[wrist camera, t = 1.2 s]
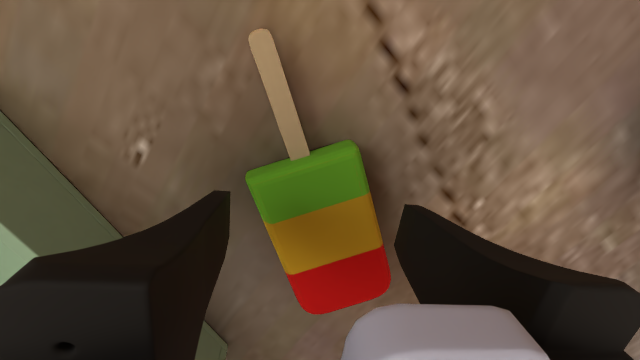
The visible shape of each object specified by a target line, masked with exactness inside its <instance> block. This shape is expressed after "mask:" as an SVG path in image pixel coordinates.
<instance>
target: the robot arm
mask: <svg viewBox="0 0 640 360" xmlns="http://www.w3.org/2000/svg"><path fill="white" fill-rule="evenodd" d="M229 226H230V192H229V191H215V190H214V191H212V192H211V193H209V194H208V195H206V196H205V197H204V198H202V199H201V200H199V201H198V202H196V203H195V204H193V205H191V206H190V207H188V208H187V209H185V210H183V211H182V212H180V213H178V214H176V215H175V216H173V217H171V218H169V219H168V220H166V221H164V222H162V223H159V224H157V225H155V226H153V227H150V228H148V229H146V230H143V231H141V232H138V233H135V234H132V235H129V236H126V237H123V238H121V239H118V240H114V241H111V242H107V243H104V244H100V245H96V246H92V247H88V248H83V249H79V250H74V251H68V252H63V253H57V254H52V255H46V256H40V257H34V258H33V259H32V260H30V261H29V262H28V263H27V264H26V265H24V266H23V267H22V268H21V269H20V270H19V271H17V272H16V273H15V274H14V275H13V276H12V277H10V278H9V279H8V280H7V281H6V282H5V283H3V284H2V285H1V286H0V360H195V356H196V351H197V347H198V342H199V338H200V334H201V330H202V325H203V321H204V317H205V313H206V310H207V307H208V304H209V301H210V298H211V295H212V292H213V290H214V287H215V284H216V281H217V278H218V276H219V273H220V270H221V267H222V264H223V261H224V258H225V254H226V250H227V245H228V240H229ZM394 247H395V250H396V253H397V256H398V259H399V262H400V265H401V267H402V269H403V271H404V273H405V275H406V277H407V279H408V281H409V283H410V285H411V287H412V289H413V291H414V293H415V295H416V296H417V298H418V300H419V302H420V304H393V305H387V306H382V307H376V308H374V309H373V310H371V311H370V312H368V313H367V314H365V315H363V316H362V317H360V318H359V319H357V320H356V322H355V323H354V325H353V327H352V328H351V330H350V332H349V333H348V335H347V337H346V340H345V345H344V349H343V354H342V357H341V359H340V360H633V359H632V358H631V357H630V356H629V355H628V354H627V353H626V352H624V351H623V350H624V349H625V347H626V346H627V344H628V343H629V342H630V340H631V339H632V337H633V336H634V335H635V333H636V332H637V330H638V329H639V328H640V293H639V292H637V291H636V290H634V289H633V288H631V287H630V286H629V285H627V284H626V283H624V282H622V281H619V280H616V279H611V278H607V277H602V276H598V275H593V274H588V273H584V272H579V271H575V270H571V269H568V268H564V267H560V266H556V265H553V264H550V263H546V262H543V261H540V260H537V259H534V258H531V257H528V256H525V255H522V254H519V253H517V252H514V251H511V250H509V249H506V248H504V247H502V246H499V245H497V244H494V243H492V242H490V241H488V240H485V239H483V238H481V237H479V236H477V235H475V234H473V233H471V232H469V231H467V230H465V229H464V228H462V227H460V226H458V225H456V224H454V223H452V222H451V221H449V220H447V219H445V218H443V217H442V216H440V215H438V214H436V213H434V212H432V211H430V210H428V209H426V208H424V207H422V206H419V205H407V204H405V205H404V209H403V213H402V217H401V220H400V224H399V228H398V232H397V235H396V239H395V243H394Z"/></svg>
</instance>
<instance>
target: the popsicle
mask: <svg viewBox="0 0 640 360" xmlns="http://www.w3.org/2000/svg"><path fill="white" fill-rule="evenodd" d="M248 41H249V45H250V48H251V50H252V53H253V56H254V59H255V62H256V64H257V67H258V70H259V73H260V76H261V78H262V81H263V84H264V87H265V90H266V93H267V95H268V98H269V101H270V104H271V107H272V109H273V112H274V115H275V118H276V121H277V123H278V126H279V129H280V132H281V135H282V138H283V140H284V143H285V146H286V149H287V152H288V154H289V157H290V158H288V159H284V160H281V161H278V162H275V163H272V164H269V165H265V166H262V167H259V168H256V169H253V170H250V171H247V173H246V176H245V180H246V183H247V185H248V187H249V190H250V192H251V194H252V196H253V199H254V201H255V203H256V206H257V208H258V210H259V213H260V215H261V217H262V220H263V222H264V224H265V226H266V229H267V231H268V233H269V236H270V238H271V240H272V243H273V245H274V247H275V250H276V252H277V254H278V256H279V259H280V261H281V263H282V266H283V268H284V270H285V273H286V275H287V277H288V280H289V282H290V284H291V286H292V289H293V291H294V293H295V296H296V298H297V300H298V302H299V303H300V305H301V307H302V308H303V309H304V310H305V311H307V312H308V313H311V314H324V313H329V312H332V311H336V310H339V309H342V308H345V307H349V306H352V305H355V304H358V303H362V302H365V301H368V300H371V299H374V298H376V297H379V296H380V295H382V294H383V293H385V292H386V291H387V289H388V288H389V285H390V281H391V275H390V269H389V265H388V261H387V257H386V253H385V249H384V245H383V241H382V237H381V233H380V229H379V225H378V221H377V217H376V213H375V209H374V205H373V201H372V197H371V193H370V189H369V185H368V182H367V178H366V174H365V170H364V166H363V162H362V158H361V154H360V151H359V148H358V146H357V145H356V144H355V143H354V142H353V141H352V140H344V141H341V142H338V143H335V144H332V145H329V146H325V147H322V148H319V149H316V150H313V151H310V152H309V149H308V146H307V143H306V139H305V136H304V133H303V130H302V127H301V124H300V121H299V118H298V115H297V112H296V109H295V106H294V102H293V99H292V96H291V93H290V90H289V87H288V84H287V81H286V78H285V75H284V72H283V68H282V65H281V62H280V59H279V56H278V53H277V50H276V47H275V44H274V41H273V38H272V35H271V33H270V32H269V31H268V30H266V29H258V30H255V31H253V32H251V33H250V35H249V39H248Z"/></svg>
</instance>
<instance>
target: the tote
mask: <svg viewBox="0 0 640 360" xmlns="http://www.w3.org/2000/svg"><path fill="white" fill-rule="evenodd" d="M121 238H123V237H122V236H121V235H120V234H119V233H118V232H117V231H116V229H115V228H114V227H113V226H112V225H111V224H110V223H109V222H108V221H107V220H106V219H105V218H104V217H103V216H102V215H101V214H100V213H99V212H98V211H97V210H96V209H95V208H94V207H93V206H92V205H91V204H90V203H89V202H88V201H87V200H86V199H85V198H84V197H83V196H82V195H81V193H80V192H79V191H78V190H77V189H76V188H75V187H74V186H73V185H72V184H71V183H70V182H69V181H68V180H67V179H66V178H65V177H64V176H63V175H62V174H61V173H60V172H59V171H58V170H57V169H56V168H55V167H54V166H53V165H52V164H51V163H50V162H49V161H48V160H47V158H46V157H45V156H44V155H43V154H42V153H41V152H40V151H39V150H38V149H37V148H36V147H35V146H34V145H33V144H32V143H31V142H30V141H29V140H28V139H27V138H26V137H25V136H24V135H23V134H22V133H21V132H20V131H19V130H18V129H17V128H16V127H15V126H14V125H13V123H12V122H11V121H10V120H9V119H8V118H7V117H6V116H5V115H4V114H3V113H2V112H1V111H0V286H1V285H2V284H3V283H5V282H6V281H7V280H8V279H9V278H10V277H12V276H13V275H14V274H15V273H16V272H17V271H19V270H20V269H21V268H22V267H23V266H24V265H26V264H27V263H28V262H29V261H30V260H32V259H33V258H34V257H40V256H46V255H52V254H57V253H63V252H68V251H74V250H79V249H83V248H88V247H92V246H96V245H100V244H104V243H107V242H111V241H114V240H118V239H121ZM227 347H228V345H227V344H226V343H225V342H224V341H223V340H222V339H221V338H220V337H219V336H218V334H217V333H216V332H215V331H214V330H213V329H212V328H211V327H210V326H209V325H208V324H207V323H206V322H205V321H203V325H202V330H201V334H200V338H199V342H198V347H197V351H196V356H195V360H225V359H226V353H227Z"/></svg>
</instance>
